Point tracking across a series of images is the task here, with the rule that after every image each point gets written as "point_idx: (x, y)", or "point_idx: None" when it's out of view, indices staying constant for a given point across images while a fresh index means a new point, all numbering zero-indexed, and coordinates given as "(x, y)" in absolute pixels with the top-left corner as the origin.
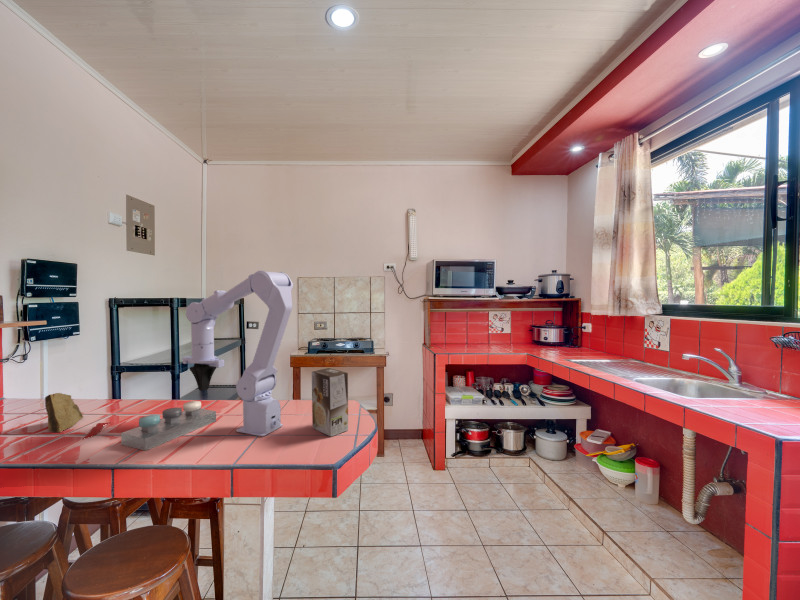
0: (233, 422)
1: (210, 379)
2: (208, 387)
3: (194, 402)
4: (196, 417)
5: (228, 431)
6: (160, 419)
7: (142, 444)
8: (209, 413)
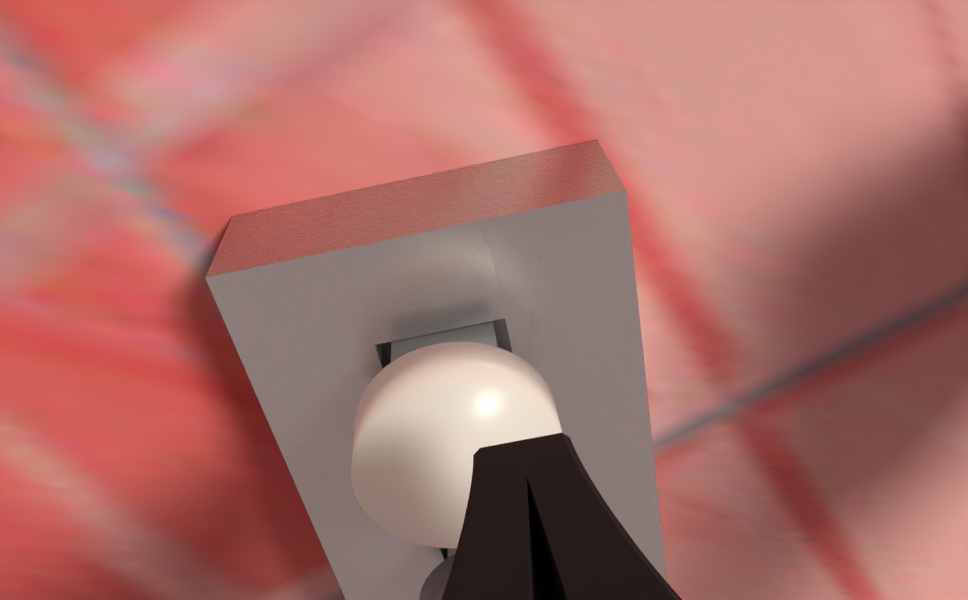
0: (824, 42)
1: (653, 568)
2: (572, 450)
3: (443, 444)
4: (613, 406)
5: (962, 216)
6: (349, 589)
7: None
8: (628, 276)
